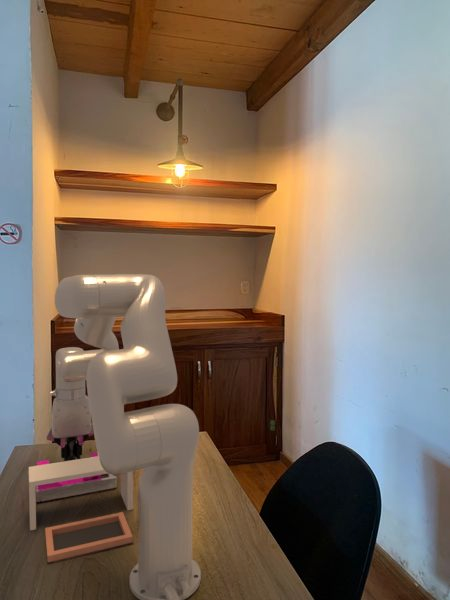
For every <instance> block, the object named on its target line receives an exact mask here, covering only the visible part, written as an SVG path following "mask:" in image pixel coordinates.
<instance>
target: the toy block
mask: <svg viewBox="0 0 450 600" xmlns="http://www.w3.org/2000/svg"><path fill="white" fill-rule="evenodd" d="M96 456H98V453H97V452H93V453H90V457H96ZM90 457H89V458H90ZM44 464H50V461H49V459H47V460H40V461H37V462H36V466H38V465H44ZM96 479H102V475H96V476H90V477H84V478H78V479H73V480H67V481H61V482H55V483H49V484H43V485H38V490H39V489H45V488H50V487H56V486H62V485H68V484H73V483H79V482H85V481H91V480H96ZM78 495H80V494H78ZM78 495H77V496H78ZM74 496H75V495H73V497H74ZM67 497H69V496H67ZM67 497H66V498H67ZM62 498H64V497H62ZM62 498H61V499H62ZM57 499H59V498H57ZM57 499H56V500H57ZM52 500H53V499H51V501H52ZM47 501H48V500H46V501H45V502H47Z"/></svg>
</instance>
